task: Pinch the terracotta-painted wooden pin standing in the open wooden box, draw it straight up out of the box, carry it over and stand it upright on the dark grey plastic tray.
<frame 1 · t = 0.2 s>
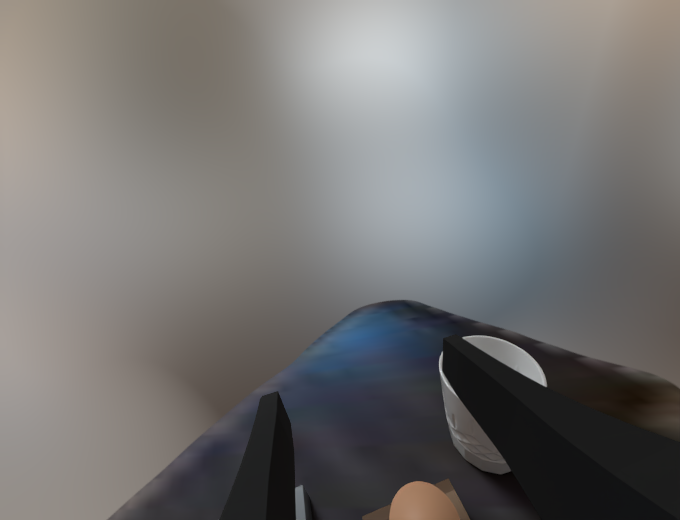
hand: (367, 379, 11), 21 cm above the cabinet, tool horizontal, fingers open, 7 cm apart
white cup: (485, 437, 27), on the cabinet
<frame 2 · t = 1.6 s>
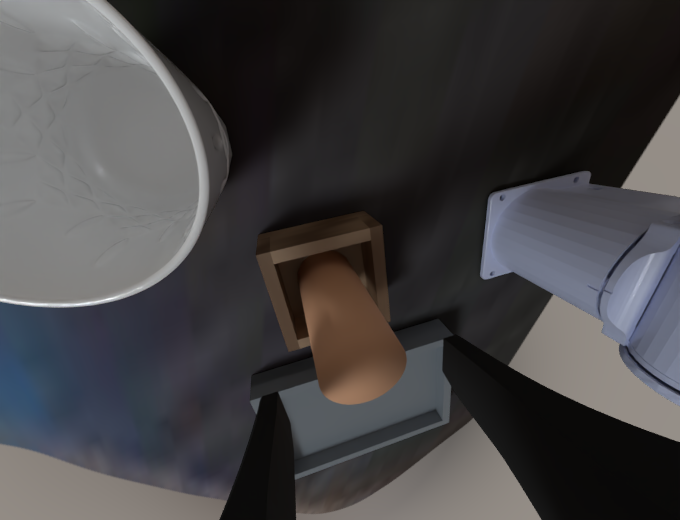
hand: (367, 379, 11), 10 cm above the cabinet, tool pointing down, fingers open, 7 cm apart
pin: (324, 275, 19), point 1 cm above the cabinet, touching open wooden box
white cup: (168, 144, 15), on the cabinet
tray: (358, 391, 27), on the cabinet
open wooden box: (322, 268, 20), on the cabinet
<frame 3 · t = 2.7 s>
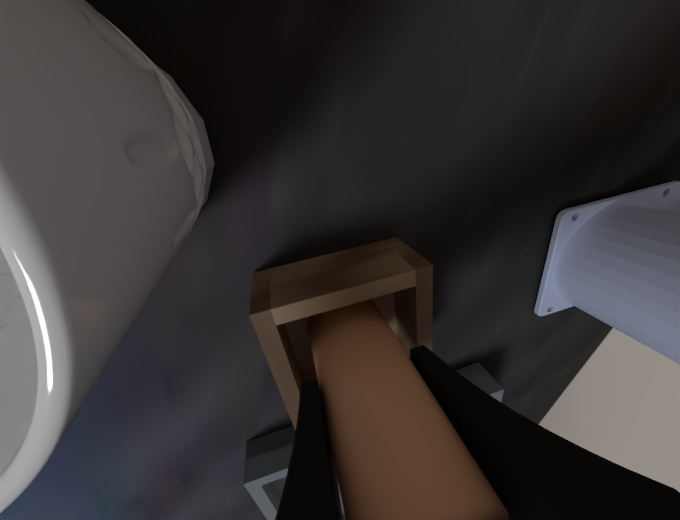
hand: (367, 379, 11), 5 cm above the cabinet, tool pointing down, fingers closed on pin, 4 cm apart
pin: (344, 322, 14), point 1 cm above the cabinet, touching open wooden box, gripper
white cup: (117, 149, 10), on the cabinet
tray: (378, 447, 22), on the cabinet
open wooden box: (339, 312, 15), on the cabinet
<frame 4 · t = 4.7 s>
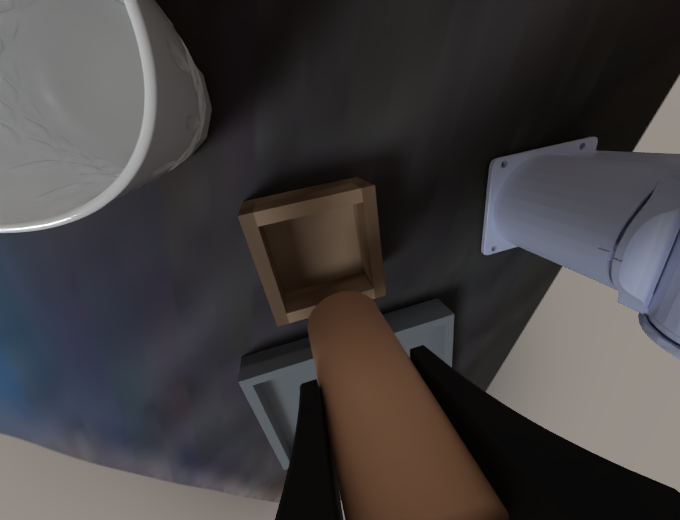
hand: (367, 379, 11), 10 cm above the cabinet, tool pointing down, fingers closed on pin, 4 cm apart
pin: (343, 322, 14), point 7 cm above the cabinet, touching gripper
white cup: (141, 97, 14), on the cabinet
tray: (355, 375, 26), on the cabinet
open wooden box: (313, 241, 19), on the cabinet
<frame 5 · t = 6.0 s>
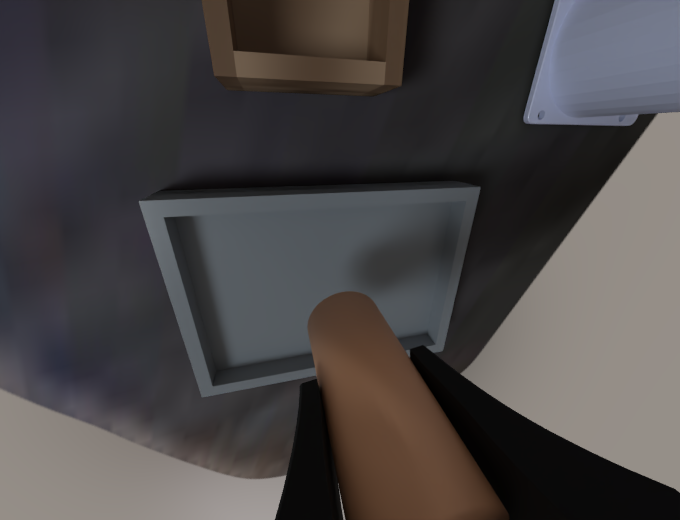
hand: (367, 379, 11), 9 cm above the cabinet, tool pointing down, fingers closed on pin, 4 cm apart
pin: (343, 322, 14), point 5 cm above the cabinet, touching gripper
tray: (326, 278, 19), on the cabinet
when the fingers open (6 cm above the cabinet, at t = 6.9 s): pin stays where it is, resting on tray.
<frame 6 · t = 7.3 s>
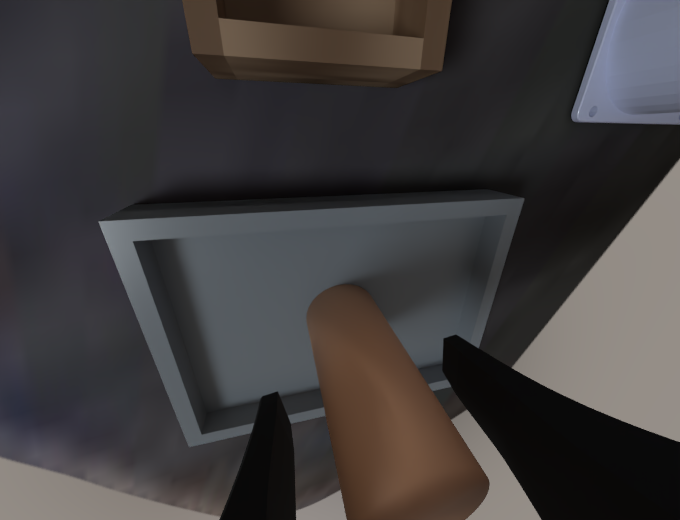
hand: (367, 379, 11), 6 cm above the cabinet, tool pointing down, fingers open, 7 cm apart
pin: (341, 314, 15), point 1 cm above the cabinet, touching tray
tray: (336, 303, 16), on the cabinet
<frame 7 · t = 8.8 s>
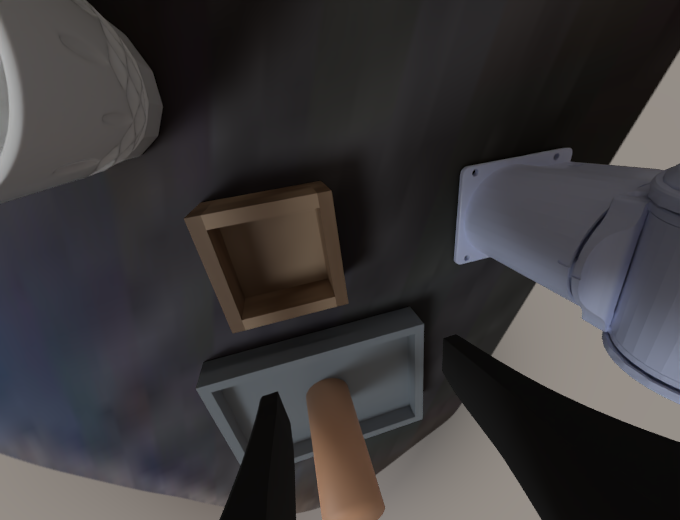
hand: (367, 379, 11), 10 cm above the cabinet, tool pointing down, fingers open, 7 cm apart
pin: (327, 393, 24), point 1 cm above the cabinet, touching tray
white cup: (87, 91, 13), on the cabinet
tray: (324, 383, 25), on the cabinet
open wooden box: (277, 245, 18), on the cabinet
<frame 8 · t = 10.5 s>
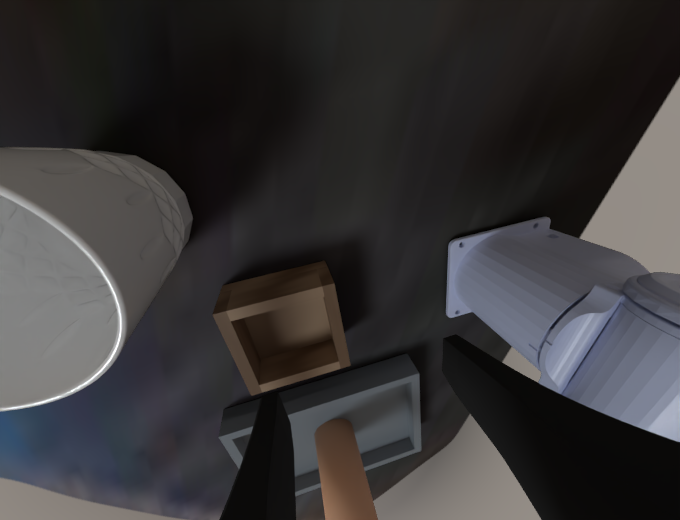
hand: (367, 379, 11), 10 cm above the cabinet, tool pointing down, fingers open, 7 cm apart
pin: (333, 431, 27), point 1 cm above the cabinet, touching tray
white cup: (132, 211, 16), on the cabinet
tray: (331, 420, 28), on the cabinet
open wooden box: (287, 313, 21), on the cabinet
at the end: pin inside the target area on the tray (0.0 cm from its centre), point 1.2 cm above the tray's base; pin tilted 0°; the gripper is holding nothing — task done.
